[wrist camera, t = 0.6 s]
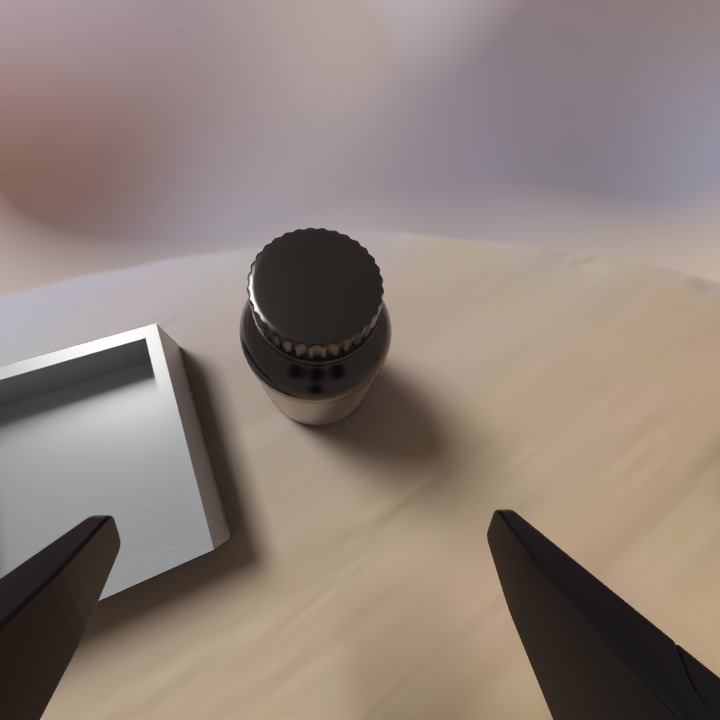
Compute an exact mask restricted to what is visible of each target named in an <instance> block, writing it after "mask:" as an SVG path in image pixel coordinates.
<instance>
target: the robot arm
mask: <svg viewBox="0 0 720 720" xmlns="http://www.w3.org/2000/svg"><path fill="white" fill-rule="evenodd" d="M487 539H488V544H489V547H490V550H491V553H492V557H493V560H494V563H495V567H496V570H497V573H498V576H499V580H500V583H501V586H502V590H503V593H504V596H505V599H506V602H507V605H508V608H509V611H510V613H511V616H512V619H513V621H514V624H515V626H516V629H517V631H518V634H519V636H520V639H521V641H522V643H523V646H524V648H525V651H526V653H527V656H528V658H529V661H530V663H531V666H532V668H533V671H534V673H535V676H536V678H537V680H538V683H539V685H540V688H541V690H542V693H543V695H544V698H545V700H546V703H547V705H548V708H549V710H550V713H551V715H552V718H553V720H720V678H719V677H718V676H717V675H715V674H714V673H713V672H712V671H710V670H709V669H708V668H707V667H705V666H704V665H703V664H702V663H700V662H699V661H698V660H697V659H695V658H694V657H693V656H692V655H690V654H689V653H688V652H687V651H686V650H684V649H683V648H682V647H681V646H679V645H675V642H674V641H673V640H672V639H671V638H669V637H668V636H667V635H666V634H664V633H663V632H662V631H661V630H660V629H658V628H657V627H656V626H655V625H653V624H652V623H651V622H650V621H648V620H647V619H646V618H645V617H644V616H642V615H641V614H640V613H639V612H637V611H636V610H635V609H634V608H633V607H631V606H630V605H629V604H628V603H626V602H625V601H624V600H623V599H621V598H620V597H619V596H618V595H617V594H615V593H614V592H613V591H612V590H610V589H609V588H608V587H607V586H605V585H604V584H603V583H602V582H601V581H599V580H598V579H597V578H596V577H594V576H593V575H592V574H591V573H589V572H588V571H587V570H586V569H585V568H583V567H582V566H581V565H580V564H578V563H577V562H576V561H575V560H574V559H572V558H571V557H570V556H569V555H567V554H566V553H565V552H564V551H562V550H561V549H560V548H559V547H558V546H556V545H555V544H554V543H553V542H551V541H550V540H549V539H548V538H546V537H545V536H544V535H543V534H542V533H540V532H539V531H538V530H537V529H535V528H534V527H533V526H532V525H531V524H529V523H528V522H527V521H526V520H524V519H523V518H522V517H521V516H519V515H518V514H517V513H516V512H514V511H513V510H509V509H502V510H496V511H495V512H494V514H493V517H492V520H491V523H490V526H489V529H488V532H487ZM120 545H121V540H120V536H119V533H118V529H117V526H116V523H115V519H114V517H112V516H111V515H94V516H90V517H88V518H87V519H85V520H84V521H82V522H81V523H79V524H78V525H76V526H75V527H74V528H72V529H71V530H69V531H68V532H66V533H65V534H64V535H62V536H61V537H59V538H58V539H56V540H55V541H54V542H52V543H51V544H49V545H48V546H46V547H45V548H43V549H42V550H41V551H39V552H38V553H36V554H35V555H33V556H32V557H31V558H29V559H28V560H26V561H25V562H23V563H22V564H21V565H19V566H18V567H16V568H15V569H13V570H12V571H11V572H9V573H8V574H6V575H5V576H3V577H2V578H1V579H0V720H40V718H41V716H42V715H43V713H44V711H45V709H46V707H47V705H48V703H49V701H50V699H51V697H52V695H53V693H54V691H55V690H56V688H57V686H58V684H59V682H60V680H61V678H62V676H63V674H64V672H65V670H66V668H67V666H68V665H69V663H70V661H71V659H72V657H73V655H74V653H75V651H76V649H77V647H78V645H79V643H80V641H81V639H82V637H83V635H84V633H85V631H86V629H87V627H88V625H89V622H90V620H91V618H92V616H93V613H94V611H95V608H96V606H97V604H98V601H99V599H100V596H101V594H102V591H103V589H104V587H105V584H106V582H107V579H108V577H109V574H110V572H111V570H112V567H113V565H114V562H115V560H116V557H117V555H118V553H119V550H120Z"/></svg>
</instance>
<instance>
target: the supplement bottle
mask: <svg viewBox="0 0 720 720" xmlns="http://www.w3.org/2000/svg"><path fill="white" fill-rule="evenodd" d="M248 282H249V284H248V287H247V293H248V295H249V298H248V300H247V302H246V304H245V306H244V309H243V312H242V316H241V321H240V341H241V345H242V349H243V352H244V355H245V357H246V360H247V362H248V364H249V366H250V367H251V369H252V371H253V372H254V374H255V375H256V377H257V378H258V380H259V381H260V383H261V385H262V386H263V388H264V389H265V391H266V392H267V394H268V395H269V397H270V398H271V400H272V401H273V402H274V404H275V405H276V406H277V407H278V409H279V410H280V411H281V412H283V413H284V414H285V415H286V416H288V417H289V418H291V419H293V420H295V421H297V422H300V423H303V424H308V425H326V424H330V423H334V422H337V421H339V420H341V419H343V418H345V417H346V416H348V415H349V414H350V413H352V412H353V411H354V410H355V409H356V408H357V406H358V405H359V404H360V402H361V401H362V400H363V398H364V397H365V395H366V393H367V391H368V390H369V388H370V386H371V385H372V383H373V381H374V379H375V378H376V376H377V374H378V373H379V371H380V369H381V367H382V365H383V364H384V362H385V359H386V357H387V354H388V351H389V347H390V342H391V322H390V317H389V313H388V310H387V307H386V305H385V303H384V300H383V299H382V298H383V295H384V290H383V287H382V284H383V279H382V277H381V275H380V268H379V267H378V266H377V265H376V264H375V259H374V258H373V257H372V256H371V255H370V254H369V253H368V251H367V249H366V248H364V247H362V246H361V245H360V244H359V242H358V241H356V240H352V239H351V238H350V237H349V236H347V235H344V234H340V233H338V232H337V231H328V230H326V229H324V228H320V229H314V228H308V229H305V230H302V229H297V230H295V231H294V232H289V233H285V234H284V235H283V236H282V237H278V238H275V239H274V240H273V241H272V243H270V244H267V245H265V247H264V248H263V251H262V252H260V253H258V254H257V256H256V260H255V261H254V262H253V263H252V264H251V272H250V273H249V275H248Z"/></svg>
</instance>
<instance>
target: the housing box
mask: <svg viewBox="0 0 720 720" xmlns="http://www.w3.org/2000/svg"><path fill="white" fill-rule="evenodd" d="M94 515H111V516H112V517H114V519H115V523H116V526H117V529H118V533H119V536H120V540H121V545H120V550H119V553H118V555H117V557H116V560H115V562H114V565H113V567H112V570H111V572H110V574H109V577H108V579H107V582H106V584H105V587H104V589H103V591H102V594H101V596H100V599H99V601H100V600H102V599H104V598H106V597H109V596H111V595H113V594H115V593H118V592H120V591H122V590H124V589H127V588H129V587H131V586H133V585H136V584H138V583H140V582H142V581H145V580H147V579H149V578H151V577H154V576H156V575H158V574H160V573H163V572H165V571H167V570H169V569H172V568H174V567H176V566H178V565H180V564H183V563H185V562H187V561H189V560H192V559H194V558H196V557H198V556H201V555H203V554H205V553H207V552H210V551H212V550H214V549H215V548H217V547H218V546H220V545H221V544H223V543H224V542H225V541H227V540H228V539H230V538H231V534H230V530H229V527H228V523H227V519H226V516H225V512H224V508H223V505H222V501H221V497H220V494H219V490H218V486H217V482H216V479H215V475H214V471H213V468H212V464H211V460H210V457H209V453H208V449H207V446H206V442H205V438H204V435H203V431H202V427H201V424H200V420H199V416H198V412H197V409H196V405H195V401H194V398H193V394H192V390H191V387H190V383H189V379H188V376H187V372H186V368H185V365H184V361H183V357H182V354H181V350H180V346H179V345H178V344H177V343H176V342H175V341H174V340H173V339H172V338H171V337H170V336H169V335H168V334H166V333H165V332H164V331H163V330H162V329H161V328H160V327H159V326H158V325H157V324H152V325H149V326H145V327H142V328H138V329H134V330H131V331H127V332H124V333H120V334H117V335H113V336H109V337H106V338H102V339H99V340H95V341H92V342H88V343H84V344H81V345H77V346H74V347H70V348H67V349H63V350H59V351H56V352H52V353H49V354H45V355H42V356H38V357H34V358H31V359H27V360H24V361H20V362H17V363H13V364H9V365H6V366H2V367H0V579H1V578H2V577H3V576H5V575H6V574H8V573H9V572H11V571H12V570H13V569H15V568H16V567H18V566H19V565H21V564H22V563H23V562H25V561H26V560H28V559H29V558H31V557H32V556H33V555H35V554H36V553H38V552H39V551H41V550H42V549H43V548H45V547H46V546H48V545H49V544H51V543H52V542H54V541H55V540H56V539H58V538H59V537H61V536H62V535H64V534H65V533H66V532H68V531H69V530H71V529H72V528H74V527H75V526H76V525H78V524H79V523H81V522H82V521H84V520H85V519H87V518H88V517H90V516H94Z"/></svg>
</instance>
